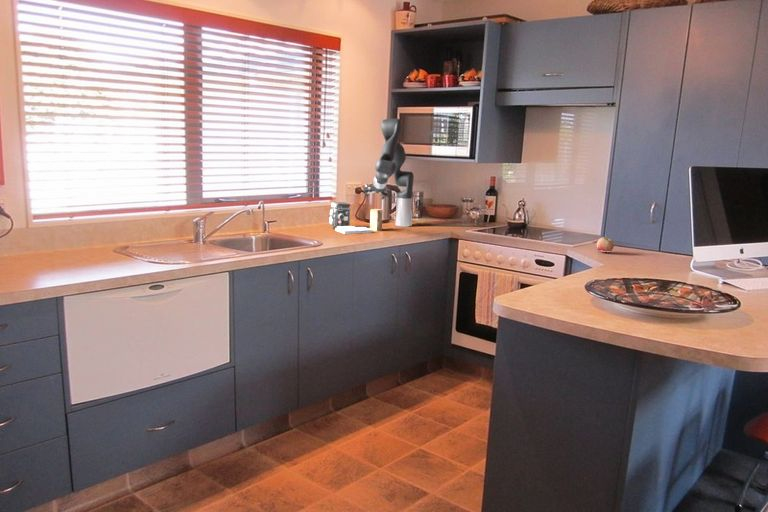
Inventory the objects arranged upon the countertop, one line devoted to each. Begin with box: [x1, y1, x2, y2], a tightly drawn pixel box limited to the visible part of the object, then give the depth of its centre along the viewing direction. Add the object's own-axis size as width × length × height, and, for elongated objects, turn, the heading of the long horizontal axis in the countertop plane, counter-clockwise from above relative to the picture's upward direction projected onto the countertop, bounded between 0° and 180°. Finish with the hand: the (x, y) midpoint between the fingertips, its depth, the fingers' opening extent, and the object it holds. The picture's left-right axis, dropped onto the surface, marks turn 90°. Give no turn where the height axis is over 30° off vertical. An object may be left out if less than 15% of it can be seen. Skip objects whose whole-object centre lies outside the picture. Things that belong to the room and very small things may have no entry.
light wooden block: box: [369, 208, 384, 232], centre depth 354 cm, size 5×5×12 cm
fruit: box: [596, 236, 615, 252], centre depth 314 cm, size 8×8×8 cm
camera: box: [328, 201, 351, 229], centre depth 354 cm, size 10×10×15 cm
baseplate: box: [334, 225, 374, 235], centre depth 346 cm, size 18×12×2 cm, turn 119°
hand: (374, 196), depth 349 cm, fingers open, 8 cm apart
